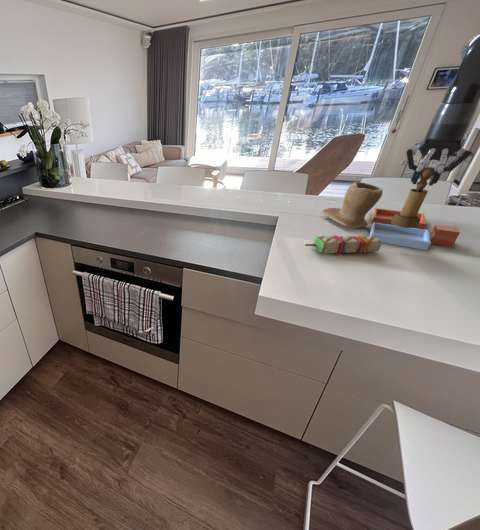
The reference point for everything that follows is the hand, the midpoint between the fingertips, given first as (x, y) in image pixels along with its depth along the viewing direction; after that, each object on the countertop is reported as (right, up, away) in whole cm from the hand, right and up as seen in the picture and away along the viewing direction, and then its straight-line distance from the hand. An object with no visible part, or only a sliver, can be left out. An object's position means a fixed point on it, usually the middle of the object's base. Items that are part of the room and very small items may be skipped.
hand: (422, 184), depth 87 cm
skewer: (-22, -20, +5) cm, 30 cm away
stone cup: (-4, -8, +24) cm, 25 cm away
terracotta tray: (+12, -9, +20) cm, 25 cm away
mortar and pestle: (+1, -11, +7) cm, 13 cm away
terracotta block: (+11, -17, +5) cm, 21 cm away
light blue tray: (+1, -16, +9) cm, 18 cm away
